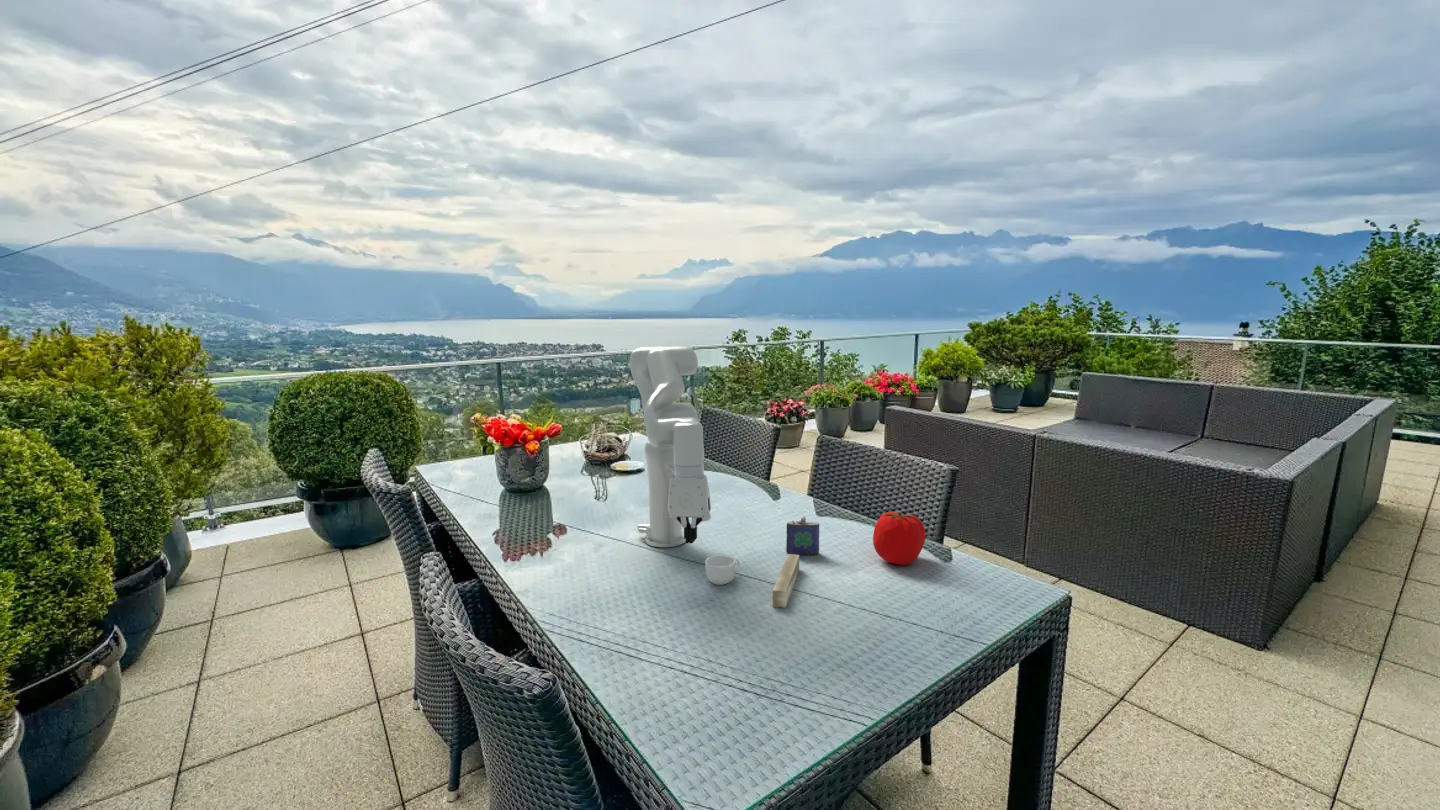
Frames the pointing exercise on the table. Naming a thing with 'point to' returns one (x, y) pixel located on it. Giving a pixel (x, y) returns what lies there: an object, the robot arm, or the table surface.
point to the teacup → (721, 568)
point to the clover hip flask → (802, 537)
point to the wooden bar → (785, 581)
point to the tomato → (898, 537)
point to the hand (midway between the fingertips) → (690, 541)
